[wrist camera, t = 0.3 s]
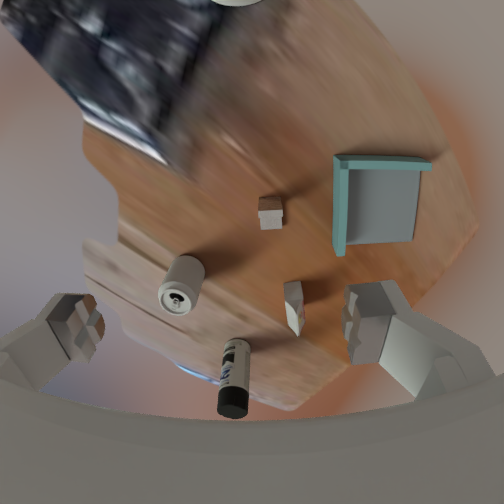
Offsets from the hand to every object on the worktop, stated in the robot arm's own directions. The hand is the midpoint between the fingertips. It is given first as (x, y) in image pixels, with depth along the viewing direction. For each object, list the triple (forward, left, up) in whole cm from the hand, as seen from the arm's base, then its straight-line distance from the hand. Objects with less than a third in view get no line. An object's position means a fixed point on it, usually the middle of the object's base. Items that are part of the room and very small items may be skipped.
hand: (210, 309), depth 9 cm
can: (+26, -16, -47) cm, 56 cm away
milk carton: (+34, +6, -47) cm, 58 cm away
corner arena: (+13, +23, -46) cm, 53 cm away
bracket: (+14, +2, -46) cm, 49 cm away
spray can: (+50, -8, -47) cm, 69 cm away
